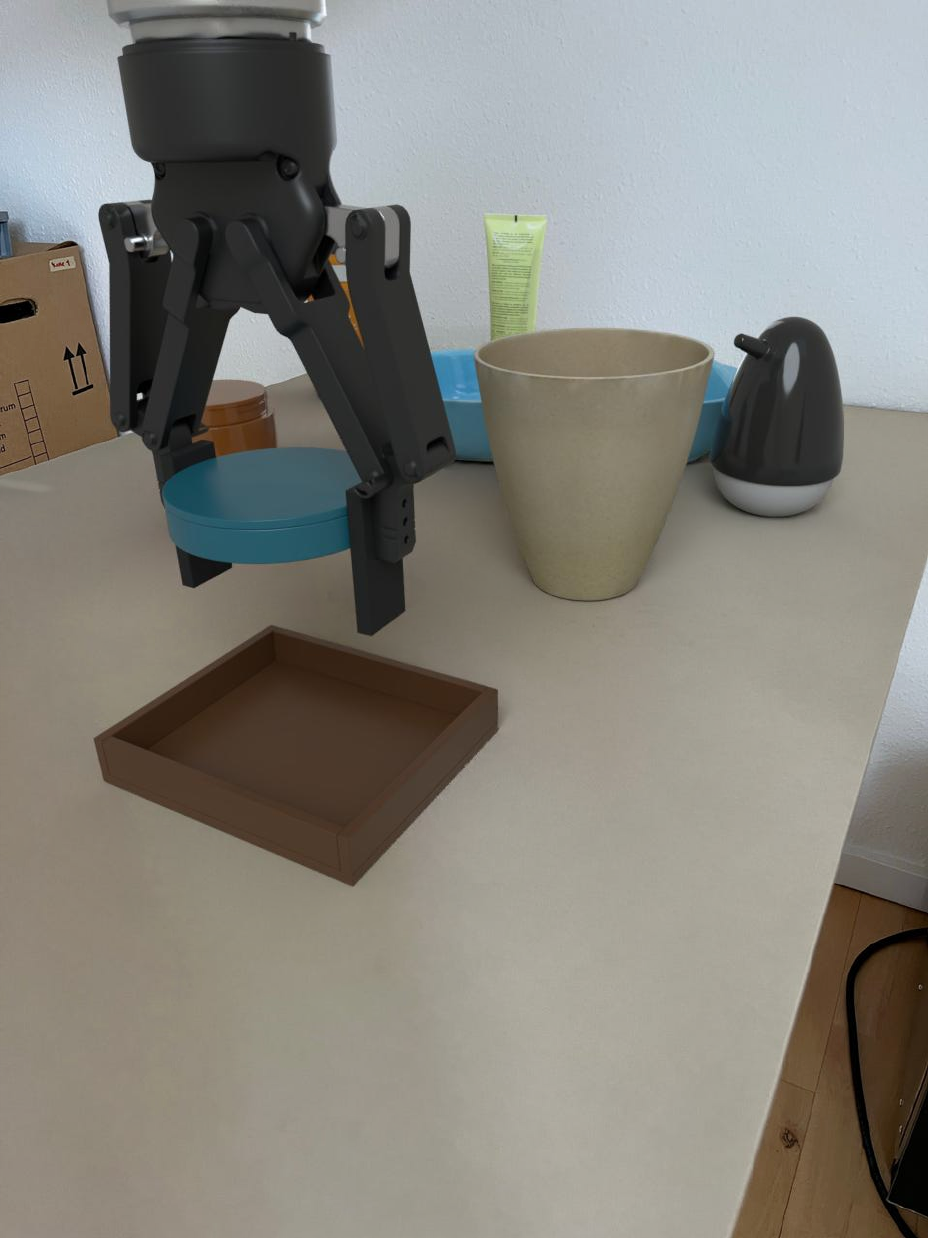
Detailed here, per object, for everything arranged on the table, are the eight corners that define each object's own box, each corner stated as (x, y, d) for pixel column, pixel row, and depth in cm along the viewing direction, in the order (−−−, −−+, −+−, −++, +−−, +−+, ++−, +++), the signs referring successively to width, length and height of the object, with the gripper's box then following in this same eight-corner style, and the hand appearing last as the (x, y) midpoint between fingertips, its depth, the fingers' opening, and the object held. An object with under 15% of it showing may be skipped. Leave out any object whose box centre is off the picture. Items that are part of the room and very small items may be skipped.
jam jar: (151, 528, 76) (126, 398, 71) (227, 494, 83) (210, 373, 78) (235, 549, 72) (216, 413, 67) (308, 511, 79) (295, 384, 74)
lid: (120, 535, 41) (111, 494, 40) (270, 472, 48) (266, 436, 47) (292, 583, 36) (287, 537, 35) (430, 505, 44) (429, 465, 43)
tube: (526, 380, 117) (528, 210, 108) (543, 389, 113) (547, 213, 104) (484, 384, 116) (483, 212, 107) (500, 394, 112) (500, 216, 102)
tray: (103, 781, 47) (92, 738, 45) (275, 662, 57) (270, 624, 55) (352, 887, 40) (348, 839, 39) (498, 730, 50) (498, 689, 49)
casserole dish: (726, 411, 104) (733, 345, 100) (768, 478, 84) (779, 399, 81) (395, 409, 106) (392, 345, 103) (360, 474, 87) (355, 397, 83)
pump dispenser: (678, 496, 80) (696, 312, 73) (776, 478, 84) (802, 301, 77) (756, 538, 72) (784, 335, 65) (860, 516, 76) (898, 321, 69)
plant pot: (647, 530, 74) (663, 321, 66) (725, 616, 61) (756, 368, 53) (460, 546, 72) (455, 331, 64) (500, 638, 59) (500, 384, 51)
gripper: (551, 23, 31) (540, 615, 42) (92, 59, 41) (175, 529, 52) (435, 4, 26) (455, 695, 36) (-66, 50, 36) (63, 581, 46)
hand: (290, 597), depth 44 cm, fingers closed on lid, 10 cm apart
